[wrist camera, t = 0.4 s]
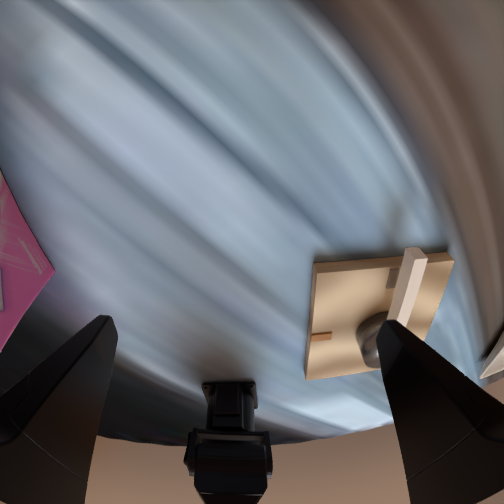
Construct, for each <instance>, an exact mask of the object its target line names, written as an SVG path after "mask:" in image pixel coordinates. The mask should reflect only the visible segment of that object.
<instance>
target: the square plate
mask: <svg viewBox="0 0 504 504" xmlns="http://www.w3.org/2000/svg"><path fill="white" fill-rule="evenodd" d="M501 370H504V331H503V333H502V334H501V336H500V338H499V340H498V342H497V344H496V345H495V347H494V348H493V350H492V351H491V353H490V354H489V356H488V357H487V359H486V361H485V363H484V365H483V367H482V371H481V375H480V379H482V378H485V377H487V376H489V375H492V374H494V373H497V372H499V371H501Z"/></svg>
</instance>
